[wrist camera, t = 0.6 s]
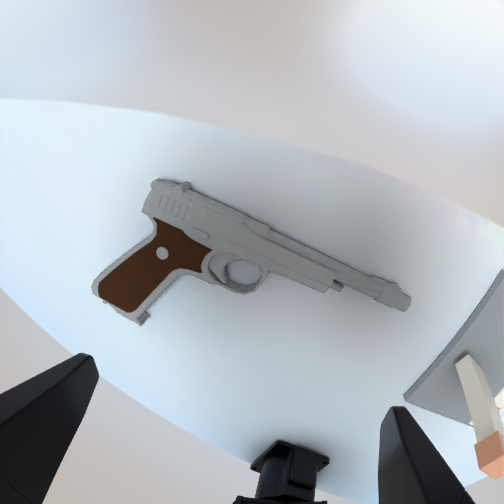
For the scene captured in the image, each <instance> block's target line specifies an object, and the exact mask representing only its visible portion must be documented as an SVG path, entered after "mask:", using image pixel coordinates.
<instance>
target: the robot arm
mask: <svg viewBox="0 0 504 504" xmlns="http://www.w3.org/2000/svg"><path fill="white" fill-rule="evenodd" d="M98 379H99V373H98V370H97V367H96V364H95V361H94V358H93V357H92V356H91V355H88V354H85V353H79V354H77V355H75V356H73V357H71V358H69V359H67V360H65V361H64V362H62V363H60V364H58V365H56V366H54V367H52V368H50V369H48V370H46V371H44V372H42V373H41V374H38V375H36V376H35V377H33V378H31V379H29V380H27V381H25V382H23V383H21V384H19V385H17V386H15V387H13V388H11V389H9V390H7V391H5V392H3V393H1V394H0V504H42V503H43V500H44V498H45V496H46V494H47V492H48V490H49V487H50V485H51V483H52V481H53V479H54V476H55V474H56V472H57V470H58V468H59V466H60V464H61V462H62V460H63V457H64V455H65V453H66V451H67V449H68V447H69V445H70V443H71V441H72V439H73V437H74V435H75V433H76V431H77V429H78V427H79V425H80V423H81V421H82V419H83V417H84V415H85V413H86V410H87V407H88V404H89V402H90V400H91V397H92V394H93V392H94V389H95V387H96V384H97V382H98ZM329 462H330V459H329V458H327V457H324V456H321V455H318V454H315V453H312V452H309V451H306V450H304V449H301V448H298V447H295V446H293V445H290V444H287V443H285V442H282V441H276V442H275V443H274V444H273V445H272V446H271V447H270V448H269V449H268V450H267V451H266V452H264V453H263V454H262V455H261V456H260V457H259V458H258V459H257V460H256V461H255V462H254V463H252V464H251V467H250V469H251V470H253V471H256V472H258V473H260V477H259V481H258V486H257V490H256V494H255V498H248V497H243V496H237V498H236V501H234V502H233V504H327V501H322V502H314V497H315V487H316V483H317V472H319V471H320V470H321V469H323V468H324V467H325V466H327V465H328V464H329ZM378 490H379V504H475V502H474V501H473V500H472V498H471V497H470V495H469V494H468V492H467V491H465V489H464V487H463V486H462V484H461V483H460V481H459V480H458V478H457V477H456V476H455V474H454V473H453V471H452V470H451V469H450V467H449V466H448V464H447V463H446V462H445V460H444V459H443V457H442V456H441V455H440V453H439V452H438V451H437V449H436V448H435V446H434V445H433V444H432V442H431V441H430V440H429V438H428V437H427V436H426V434H425V433H424V431H423V430H422V429H421V427H420V426H419V425H418V423H417V422H416V421H415V419H414V418H413V417H412V415H411V414H410V413H409V411H408V410H407V409H406V408H405V407H404V406H392V407H391V408H390V409H389V411H388V412H387V414H386V416H385V418H384V420H383V421H382V424H381V428H380V448H379V464H378Z"/></svg>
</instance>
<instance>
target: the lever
mask: <svg viewBox="0 0 504 504" xmlns="http://www.w3.org/2000/svg"><path fill="white" fill-rule="evenodd" d="M455 365H456V368H457V371H458V374H459V377H460V381H461V384H462V387H463V390H464V394H465V397H466V400H467V404H468V407H469V411H470V415H471V418H472V422H473V426H474V430H475V434H476V438H477V444H475V445H474V446H475V451H476V456H477V461H478V466H479V470H481V471H483V472H484V473H486V474H487V475H489V476H491V477H492V478H494V479H497V478H499V477H501V476H503V475H504V427H503V424H502V421H501V418H500V415H499V412H498V409H497V406H496V403H495V400H494V397H493V395H492V392H491V389H490V387H489V384H488V381H487V379H486V376H485V374H484V371H483V370H482V368H481V367H480V366H479V365H478V364H477V363H476V362H475V361H474V359H473V358H472V357H471V356H470V355H469V354H468V355H466V356H465V357H464V358H462V359H461V360H460V361H459V362H457V363H456V364H455Z"/></svg>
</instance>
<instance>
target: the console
mask: <svg viewBox="0 0 504 504" xmlns="http://www.w3.org/2000/svg"><path fill="white" fill-rule="evenodd" d="M468 354H469V355H470V356H471V357H472V358H473V359H474V361H475V362H476V363H477V364H478V365H479V366H480V367H481V368H482V370H483V371H484V374H485V376H486V379H487V381H488V384H489V387H490V389H491V392H492V395H493V397H494V400H495V403H496V406H497V409H498V411H499V410H500V409H501V408H502V407H503V406H504V271H503V270H501V271H500V273H499V275H498V276H497V278H496V279H495V281H494V282H493V284H492V286H491V287H490V289H489V290H488V292H487V293H486V295H485V296H484V298H483V299H482V300H481V302H480V303H479V305H478V306H477V308H476V309H475V310H474V312H473V313H472V315H471V316H470V317H469V319H468V320H467V321H466V323H465V324H464V325H463V327H462V328H461V329H460V331H459V332H458V333H457V334H456V336H455V337H454V338H453V339H452V341H451V342H450V343H449V344H448V346H447V347H446V348H445V349H444V351H443V352H442V353H441V354H440V355H439V357H438V358H437V359H436V360H435V361H434V362H433V364H432V365H431V366H430V367H429V368H428V369H427V370H426V371H425V373H424V374H423V375H422V376H421V377H420V378H419V379H418V380H417V381H416V382H415V383H414V385H413V386H412V387H411V388H410V389H409V390H408V391H407V392H406V393H405V394H404V399H405V401H406V402H409V403H411V404H414V405H416V406H419V407H421V408H424V409H426V410H429V411H431V412H434V413H437V414H439V415H442V416H445V417H447V418H450V419H453V420H455V421H458V422H461V423H464V424H466V425H469V426H472V427H474V426H473V422H472V418H471V415H470V411H469V407H468V404H467V400H466V397H465V394H464V390H463V387H462V384H461V381H460V377H459V374H458V371H457V368H456V365H455V364H456V363H457V362H459V361H460V360H461V359H462V358H464V357H465V356H466V355H468Z"/></svg>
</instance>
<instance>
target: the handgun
mask: <svg viewBox="0 0 504 504" xmlns="http://www.w3.org/2000/svg"><path fill="white" fill-rule="evenodd" d="M151 188H152V190H151V192H150V193H149V195H148V196H147V199H146V201H145V203H144V206H143V209H142V212H143V213H145V214H147V215H148V216H149V218H150V219H151V221H152V222H153V225H154V230H153V233H152V234H151V235H150V236H149V237H147V238H146V239H144V240H143V241H141V242H140V243H138V244H137V245H136V246H134V247H133V248H132V249H131V250H129V251H128V252H127V253H125V254H124V255H123V256H122V257H120V258H119V259H118V260H116V261H115V262H114V263H113V264H111V265H110V266H109V267H108V268H106V269H105V270H104V271H103V272H101V273H100V274H99V275H98V276H97V277H96V279H95V280H94V281H93V284H92V287H91V288H92V293H93V294H94V295H96V296H98V297H99V298H101V299H103V303H105V304H106V303H107V302H108V304H109V305H110V306H112V307H113V308H114V309H115V310H116V312H117V313H119V314H121V315H122V316H124V317H126V318H128V319H130V320H132V321H134V322H135V323H137V324H138V325H139V326H142V325H143V324H144V323H145V321H146V320H147V319H148V318H149V316H150V314H148V313H147V312H146V311H145V310H146V309H147V308H148V307H149V306H150V305H151V304H152V303H153V302H154V301H155V300H156V299H157V298H158V297H159V296H160V295H161V294H162V293H163V291H164V290H165V289H166V288H167V287H168V286H169V285H170V284H171V283H172V282H173V281H174V280H175V279H176V278H177V277H179V276H181V275H184V274H185V275H193V276H195V277H197V278H200V279H202V280H204V281H207V282H209V283H211V284H217V285H220V286H222V287H224V288H226V289H229V290H231V291H233V292H235V293H240V294H248V293H251V292H254V291H255V290H256V289H257V288H258V287H259V286H260V284H261V283H262V281H263V280H264V278H265V277H266V275H267V274H268V272H269V271H270V272H273V273H277V274H279V275H282V276H285V277H287V278H289V279H292V280H294V281H296V282H299V283H301V284H303V285H306V286H308V287H310V288H313V289H315V290H317V291H319V292H322V293H324V292H325V291H327V290H328V288H329V287H331V288H333V289H335V290H337V291H339V292H341V291H342V289H343V286H342V285H340V284H338V283H336V282H334V279H335V280H337V281H339V282H341V283H344V284H346V285H348V286H350V287H352V288H354V289H356V290H358V291H361V292H363V293H365V294H367V295H369V296H371V297H373V298H374V299H375V300H377V301H379V302H381V303H383V304H385V305H387V306H389V307H394V308H397V309H399V310H401V311H406V310H407V309H408V307H409V306H410V303H411V297H409V296H407V295H405V294H403V293H401V292H402V290H401V288H399V287H397V286H398V284H396V283H389V282H387V281H385V280H383V279H381V278H377V277H372V276H371V277H369V276H367V275H365V274H363V273H361V272H359V271H357V270H354V269H352V268H350V267H348V266H346V265H344V264H342V263H340V262H338V261H336V260H334V259H332V258H330V257H327V256H325V255H323V254H321V253H319V252H317V251H315V250H313V249H311V248H308V247H306V246H304V245H302V244H300V243H298V242H296V241H294V240H291V239H289V238H287V237H285V236H283V235H281V234H279V233H276V232H274V231H272V230H270V229H269V228H270V227H269V226H267V225H264V224H262V223H260V222H258V221H256V220H254V219H251V218H249V217H247V216H246V214H243V213H241V212H239V211H237V210H235V209H232V208H230V207H228V206H226V205H223V204H221V203H219V202H217V201H214V200H212V199H210V198H208V197H205V196H203V195H201V194H199V193H196V192H194V191H192V190H190V189H191V187H190V186H189V183H187V182H184V183H181V184H179V185H178V184H176V183H174V182H171V181H168V180H166V181H161V179H160V178H159V179H156V180H154V181H153V182H152V183H151ZM242 259H244V260H246V261H248V262H250V263H252V264H254V265H257V266H259V268H260V270H261V277H260V278H259V280H258V281H257V282H256V283H255V284H252V285H249V286H243V285H239V284H237V283H235V282H232V281H230V280H228V277H227V275H226V273H225V267H226V264H228V263H230V262H232V261H237V260H242Z"/></svg>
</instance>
